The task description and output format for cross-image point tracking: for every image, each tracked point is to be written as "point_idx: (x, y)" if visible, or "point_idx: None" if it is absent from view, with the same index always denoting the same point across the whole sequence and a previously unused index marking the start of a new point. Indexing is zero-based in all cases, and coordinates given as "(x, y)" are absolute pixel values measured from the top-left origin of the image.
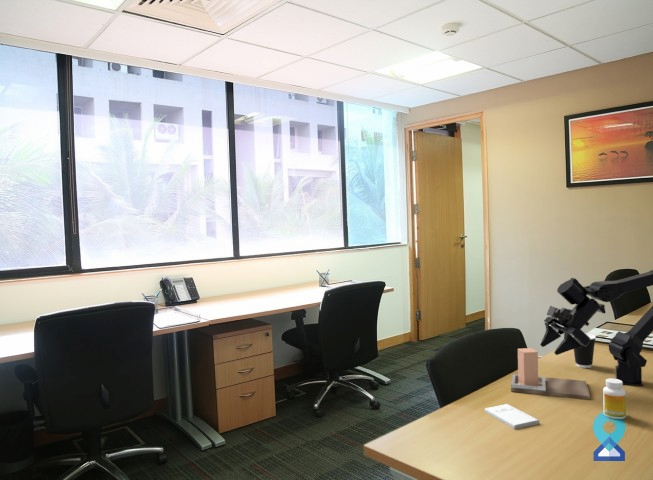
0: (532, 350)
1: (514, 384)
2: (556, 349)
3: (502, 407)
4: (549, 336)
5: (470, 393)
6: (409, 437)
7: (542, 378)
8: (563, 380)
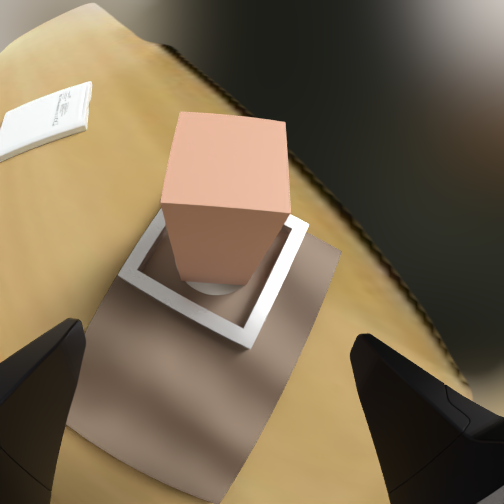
0: (214, 184)
1: None
2: (56, 336)
3: (73, 108)
4: (415, 437)
5: (207, 86)
6: (82, 18)
7: (232, 326)
8: (236, 429)
